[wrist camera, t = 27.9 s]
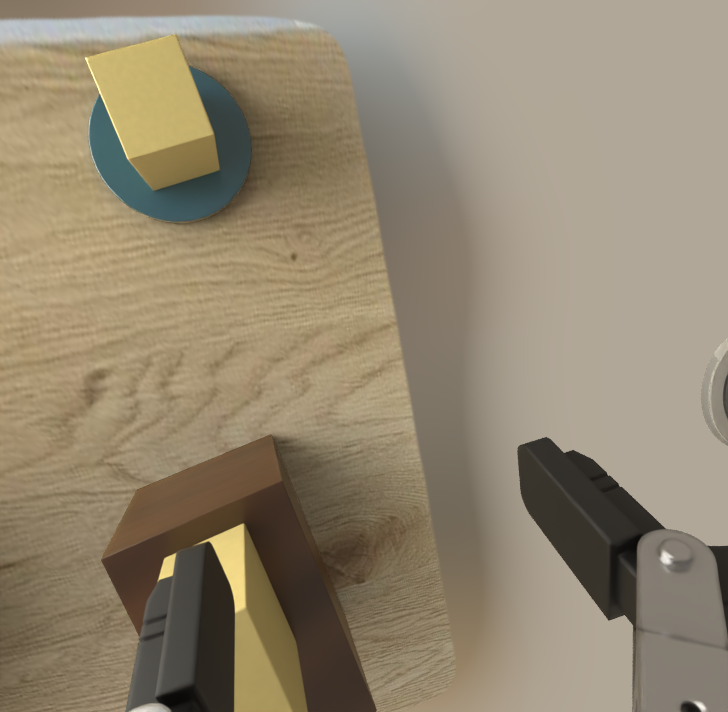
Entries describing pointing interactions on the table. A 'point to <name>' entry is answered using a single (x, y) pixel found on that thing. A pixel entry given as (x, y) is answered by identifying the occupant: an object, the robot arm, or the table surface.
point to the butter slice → (156, 111)
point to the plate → (189, 196)
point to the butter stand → (273, 544)
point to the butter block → (256, 630)
